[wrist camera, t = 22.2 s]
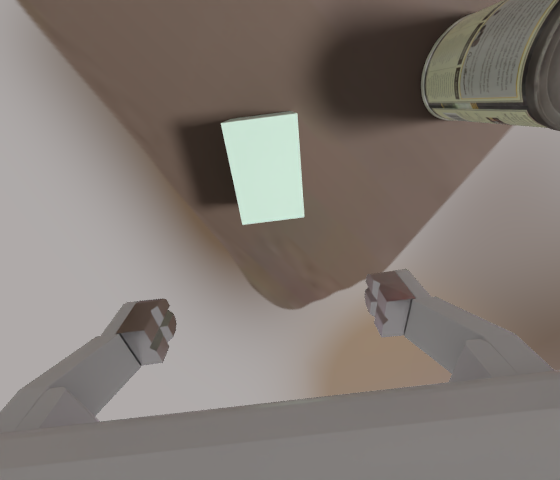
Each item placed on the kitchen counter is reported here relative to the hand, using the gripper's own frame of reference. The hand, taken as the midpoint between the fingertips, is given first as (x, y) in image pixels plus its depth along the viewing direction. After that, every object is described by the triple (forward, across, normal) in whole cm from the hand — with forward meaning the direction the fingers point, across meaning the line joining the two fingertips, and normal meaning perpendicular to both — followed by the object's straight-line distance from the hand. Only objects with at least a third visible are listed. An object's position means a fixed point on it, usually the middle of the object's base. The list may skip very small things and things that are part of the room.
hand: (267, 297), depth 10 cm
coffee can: (+25, -24, -8) cm, 36 cm away
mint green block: (+25, 0, 0) cm, 25 cm away
